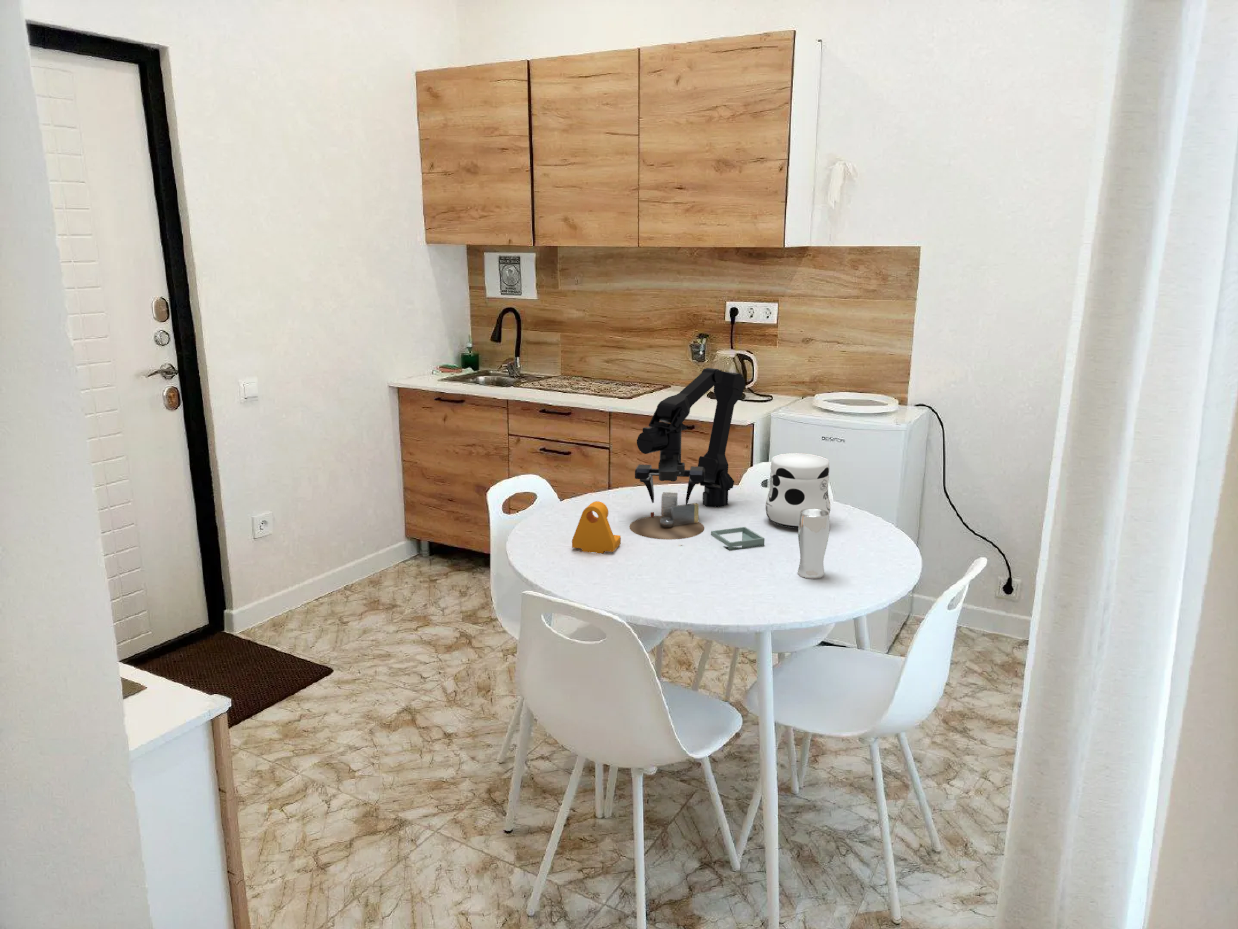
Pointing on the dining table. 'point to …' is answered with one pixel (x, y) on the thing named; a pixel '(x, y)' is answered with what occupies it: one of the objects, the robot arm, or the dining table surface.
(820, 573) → the beer glass
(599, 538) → the bracket
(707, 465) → the robot arm
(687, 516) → the crank
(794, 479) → the milk container
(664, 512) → the block
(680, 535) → the base
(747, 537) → the tray
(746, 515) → the dining table surface
